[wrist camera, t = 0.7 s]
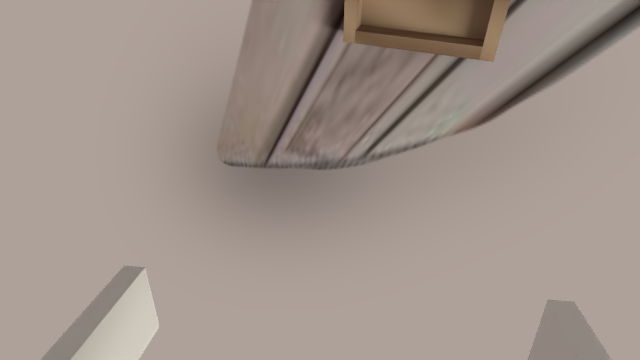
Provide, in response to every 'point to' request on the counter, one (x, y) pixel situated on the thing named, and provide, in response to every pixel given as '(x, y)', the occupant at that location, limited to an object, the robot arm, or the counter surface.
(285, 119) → the counter surface
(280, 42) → the counter surface
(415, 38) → the walnut coaster tray
